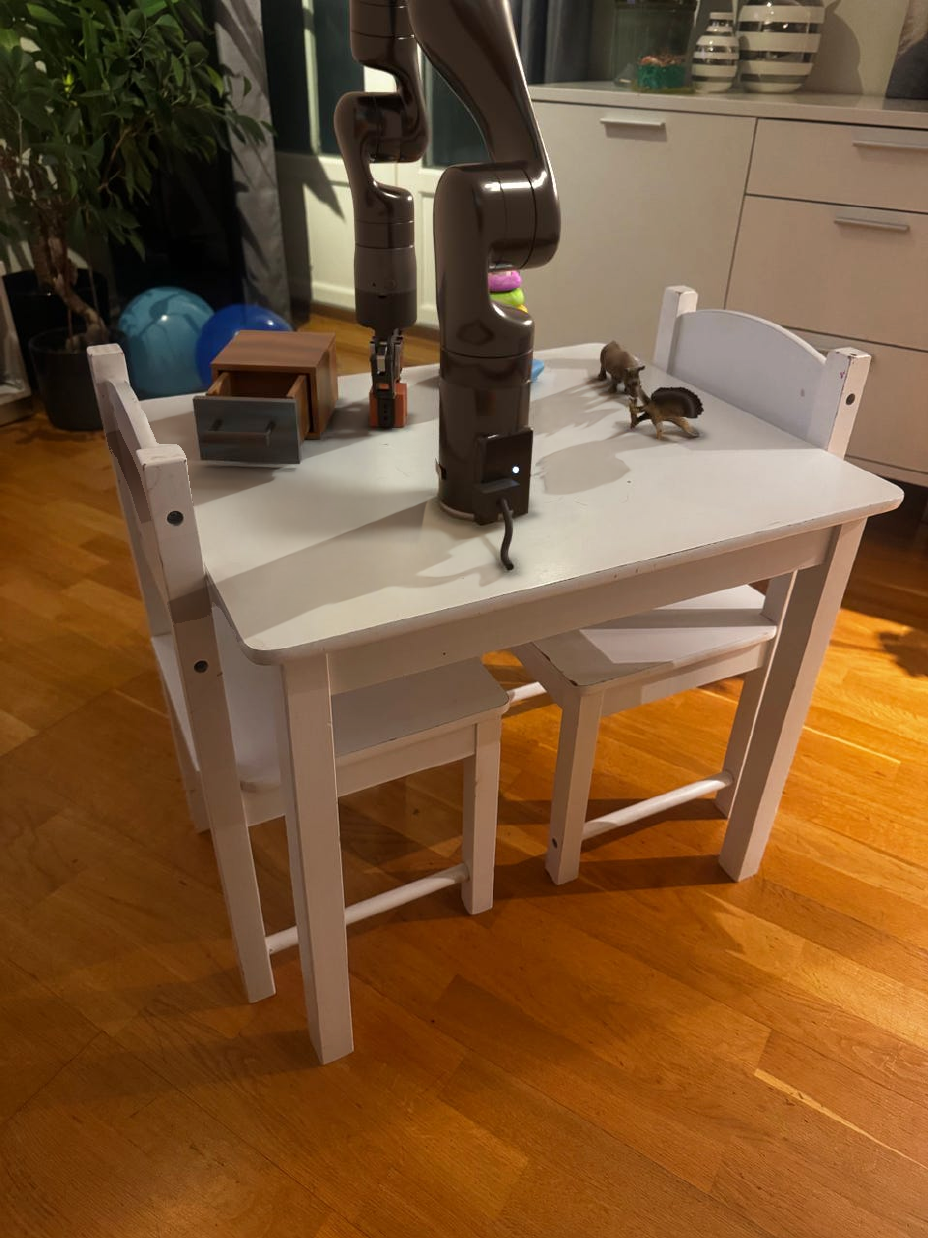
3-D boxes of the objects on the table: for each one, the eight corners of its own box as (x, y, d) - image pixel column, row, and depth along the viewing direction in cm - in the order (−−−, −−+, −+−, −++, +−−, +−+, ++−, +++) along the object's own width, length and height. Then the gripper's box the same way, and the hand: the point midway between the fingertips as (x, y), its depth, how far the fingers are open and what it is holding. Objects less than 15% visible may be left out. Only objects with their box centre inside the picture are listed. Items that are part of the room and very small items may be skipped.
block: (404, 427, 118) (403, 394, 115) (369, 426, 118) (368, 392, 115) (407, 415, 121) (406, 382, 119) (374, 414, 121) (373, 381, 119)
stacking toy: (474, 361, 142) (479, 197, 129) (549, 376, 136) (561, 206, 124) (427, 385, 132) (427, 209, 119) (505, 402, 126) (514, 220, 114)
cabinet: (320, 439, 113) (315, 366, 109) (219, 435, 114) (210, 363, 109) (338, 399, 126) (335, 332, 121) (247, 396, 126) (240, 329, 121)
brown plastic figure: (631, 436, 114) (705, 428, 112) (626, 379, 114) (701, 370, 112) (631, 448, 121) (701, 440, 119) (627, 394, 121) (697, 386, 120)
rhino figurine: (622, 408, 125) (627, 365, 122) (592, 376, 137) (596, 336, 133) (650, 407, 126) (656, 364, 123) (618, 375, 137) (623, 335, 134)
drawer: (290, 483, 100) (285, 419, 96) (187, 479, 100) (177, 415, 97) (320, 421, 116) (316, 364, 112) (230, 418, 116) (224, 361, 112)
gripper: (362, 268, 116) (367, 399, 125) (345, 296, 104) (352, 438, 113) (421, 270, 116) (421, 401, 125) (411, 298, 104) (412, 440, 113)
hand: (388, 418), depth 119 cm, fingers open, 4 cm apart
